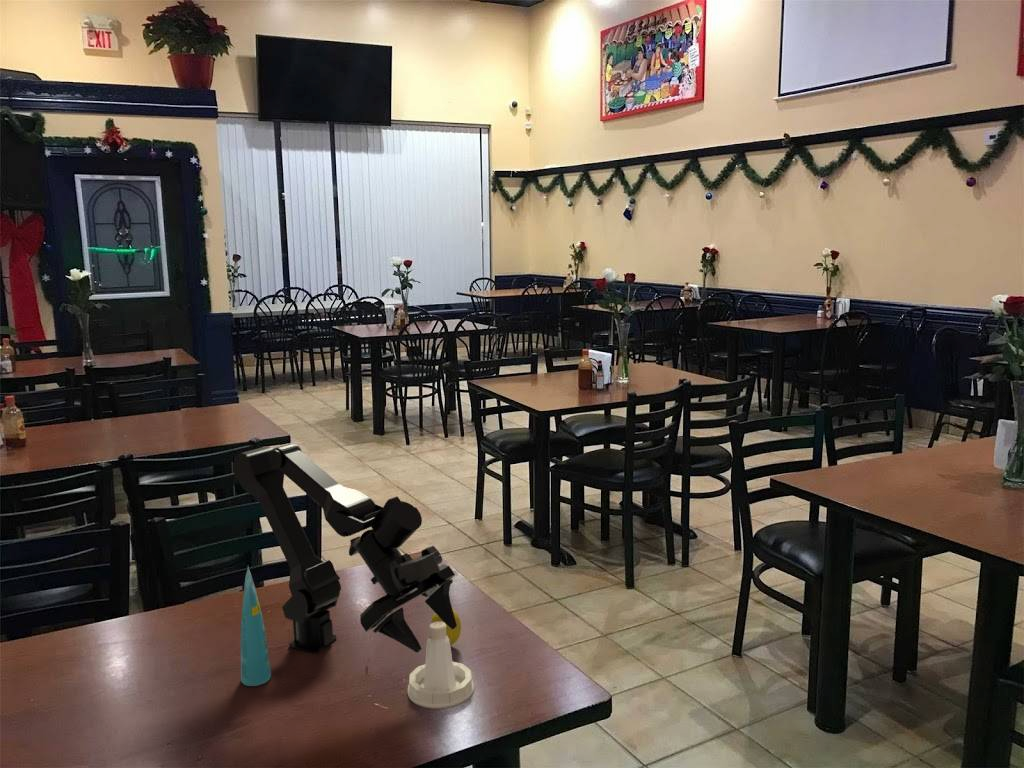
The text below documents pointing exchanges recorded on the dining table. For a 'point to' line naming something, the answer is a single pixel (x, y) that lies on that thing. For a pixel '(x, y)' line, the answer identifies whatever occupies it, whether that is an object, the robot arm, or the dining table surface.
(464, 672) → the ring dish
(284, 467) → the robot arm
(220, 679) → the dining table surface
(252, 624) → the tube
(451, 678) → the pepper shaker
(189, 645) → the dining table surface
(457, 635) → the lemon
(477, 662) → the dining table surface
